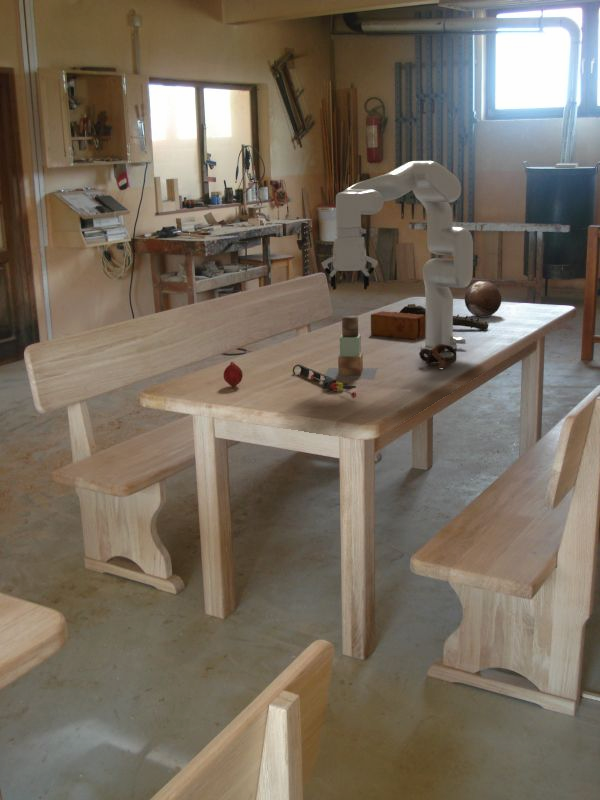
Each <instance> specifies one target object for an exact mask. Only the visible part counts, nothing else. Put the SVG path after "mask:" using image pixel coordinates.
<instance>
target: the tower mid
mask: <svg viewBox="0 0 600 800" xmlns="http://www.w3.org/2000/svg"><path fill="white" fill-rule="evenodd" d="M361 338H362V336H361V334H360V333H358V336H357V337H343V336H342V334H341V335H340V337H339V354H340V357H359V356H360V353H361V352H362V342H361V341H362V339H361Z"/></svg>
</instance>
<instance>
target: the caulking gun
mask: <svg viewBox="0 0 600 800" xmlns="http://www.w3.org/2000/svg"><path fill="white" fill-rule="evenodd" d="M296 367H297V368H298V367H299V368H300V372H299V374H303V375H305V376H307V377H309V376H310V379H311V380H312V381H318V382H322V387H323V388H324V389H325V390H327V391H328V392H331V391H334V390H335V391H334V392H339V391H342V392H345V393H347V394H349V395H350V396H351V397H352V399H353V398H356V396H357V392H356V391H355V392H354V391H353V392H351V391H350V392H349V391H347V390H349V389H354V388H356V387H357V386H356V385H352V384H351V385H347V384H348V382H344V383H342V382H338V381H337V380H336V378H330V377H328V376H326V375H325V374H323V373H321V372H319V371H316V370H314V369H310V368H308V367H307V366H304V365H302V364H296V365H294V366H293V368H292V373H293V375H297V373H296V371H295V369H296ZM310 371H311V372H312V375H310ZM321 377H324V378H323V379H324V380H322V378H321ZM326 377H327V378H326ZM348 388H349V389H348Z"/></svg>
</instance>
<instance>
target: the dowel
mask: <svg viewBox="0 0 600 800" xmlns="http://www.w3.org/2000/svg"><path fill="white" fill-rule="evenodd" d="M341 330H342V331H341V332H342V333H341V335H342V336H343V337H357V336H358V334H359V316H358V315H343V316H342V317H341Z"/></svg>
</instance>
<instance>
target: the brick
mask: <svg viewBox="0 0 600 800" xmlns="http://www.w3.org/2000/svg"><path fill="white" fill-rule="evenodd" d="M370 334H371V336H376V335H377V336H378V337H385V338H387V337H388V338H393V337H394V338H395V339H402V340H403V339H404V340H413V341H415V340H418V339H422V338H424V337H425V315H423V314H420V315H417V314H410V313H399V312H398V311H384V310H381V311H377V312H374V313H371V314H370ZM377 336H376V337H377Z"/></svg>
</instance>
